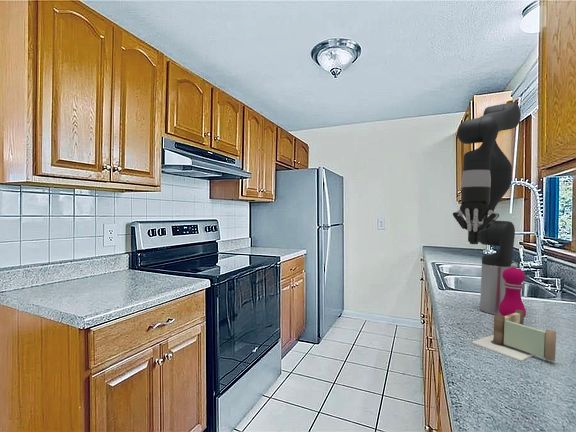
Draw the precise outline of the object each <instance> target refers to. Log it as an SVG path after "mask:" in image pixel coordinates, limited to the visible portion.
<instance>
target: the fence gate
mask: <svg viewBox="0 0 576 432" xmlns="http://www.w3.org/2000/svg"><path fill="white" fill-rule="evenodd" d="M504 344H505V345H508V346H511V347H514V348H517V349H520V350H522V351H525V352H528V353H531V354H534V356H537V357H539V358H544V359H545V360H548V361H551V362H555V361H556V349H557V331H556V330H553V329H545V330H542V329H539V328H535V327H532V326H528V325H525V324H524V325H521V324H518V323H514V322H511V321H505V325H504Z"/></svg>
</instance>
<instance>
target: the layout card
mask: <svg viewBox="0 0 576 432" xmlns="http://www.w3.org/2000/svg"><path fill="white" fill-rule="evenodd" d="M493 336H494V334H491V335H488V336H486V337H485V336H484V337H482V338H480V339H479V338H478V339H476V340H473V341H471V344H473V345H475V346H478V347H480V348H484V349H486V350H489V351H492V352H495V353H498V354H500V355H503V356H506V357H508V358H511V359H514V360H517V361H519V362H523V361H525V360H527V359H529V358H531V357H533V356H535V355H534V354H531V353H528V352H525V351H522V350H520V349H517V348H514V347H511V346H508V345H505V344H504V345H499V344H495V343H494V342H493Z"/></svg>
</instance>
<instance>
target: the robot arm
mask: <svg viewBox="0 0 576 432" xmlns="http://www.w3.org/2000/svg"><path fill="white" fill-rule="evenodd" d="M520 122H521V107H520V106H519V104H518V103H516V102H507V103H501V104H496V105H491V106H488V107H486V108H484V111H483V115H481V116H479V117H476V118H472V119H467V120H464V121H462V122H461V123H460V124H459V126H458V128H457V130H456V131H457V132H456V135H457V138H458V140H459V141H460V142H461V143H462V144H466V145H472V144H478V143H479V144H480V143H481V144H480V145H479V147H478V148H476V149H473V150H470V151H467V152H466V153H464V155H463V160H462V161H463V165H462V166H463V167H462V177H461V185H460V186H461V189H460V190H461V193H460V194H461V195H460V196H461V197H460V200H461V201H460V202H461V204H460V206H459V209H458V210H457V211H456V212H454V211H453V213H452V216H453V218H454V220H456V222H457V224H458V225H459V226H460V227H461V229H463V230H467V242H469V244H470V245H478V244H479V243H480V245H484V246H493V247H494V246H495V247H499V249H498V250H497V251H496V252H494V253H493V252H492V253H490V254H486V255H483V256H482V257H481V274H480V296H479V298H480V299H479V301H480V302H479V310H480V311H482V312H484V313H487V314H491V315H501V314H500V312H499V306H500V303H501V302H502V300H503V298H504V296H505V287H504V282H505V280H504V279H503V276H502V274H503V271H504V270H505V269H507V268H511V264H512V263H513V257H514V247H515V245H514V244H515V238H516V237H515V235H516V228H515V225H514V223H513V222H512V221H508V220H498V218H499V217H500V214H499V213H496V212H495V209H496V208H497V206H498V204H499V202H500V201H501V200H502V199H503V197H504V196H505V195H506V194H507V192H508V191H509V189H510V187H511V185H512V180H513V177H512V176H513V166H512V163H511V161H510V160H509V158H508V157H507V155H506V154H505V153H504V152H503V150H501V147H500V146H499V144H498V143H497V139H498V135H499V132H501V131H507V130H512V129H514V128H517V127H518V125H519V124H520ZM464 217H465V218H464Z"/></svg>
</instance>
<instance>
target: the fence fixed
mask: <svg viewBox="0 0 576 432" xmlns="http://www.w3.org/2000/svg"><path fill="white" fill-rule="evenodd" d="M493 315H494V316H493V317H494V318H493V335H494V336H493V342H494V343H495V344H499V345H504V325H505V321H511V322H514V323H518V324H521V325H523V324H524V321H525V317H524V311H522V310H516V312H515V313H513V314H510V315H506V316H502V315H496V314H493ZM524 325H525V324H524Z"/></svg>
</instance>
